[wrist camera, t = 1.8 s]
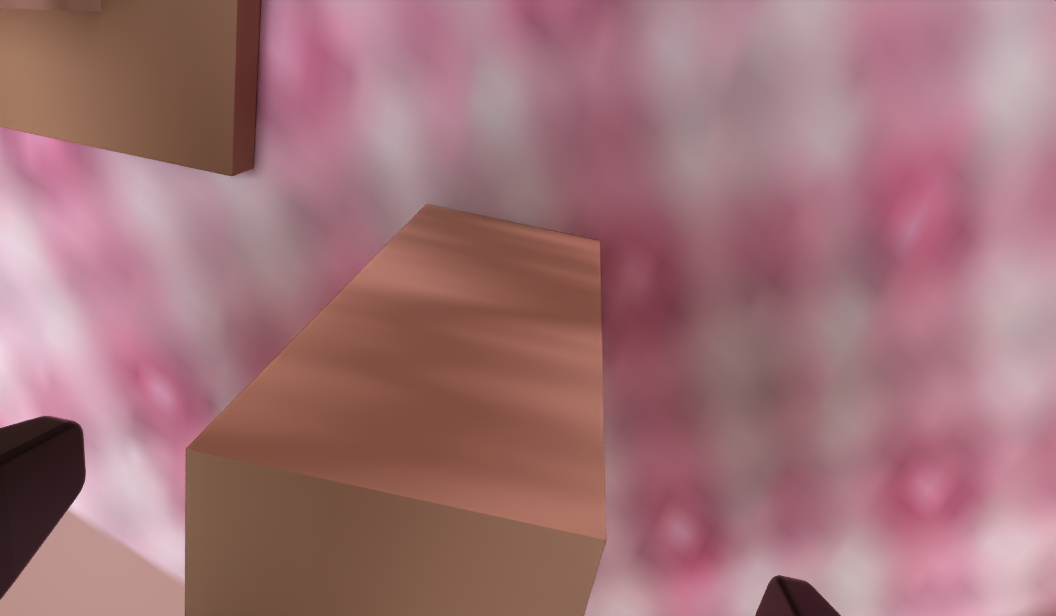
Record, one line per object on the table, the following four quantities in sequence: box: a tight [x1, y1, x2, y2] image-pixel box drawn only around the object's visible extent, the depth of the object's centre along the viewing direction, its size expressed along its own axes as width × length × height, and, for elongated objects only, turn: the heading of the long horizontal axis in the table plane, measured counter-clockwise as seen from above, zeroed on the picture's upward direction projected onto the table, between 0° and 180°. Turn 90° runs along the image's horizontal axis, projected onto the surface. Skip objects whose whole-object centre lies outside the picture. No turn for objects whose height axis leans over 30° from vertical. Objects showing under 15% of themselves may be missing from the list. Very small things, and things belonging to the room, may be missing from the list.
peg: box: [185, 204, 606, 616], centre depth 12 cm, size 4×4×10 cm
